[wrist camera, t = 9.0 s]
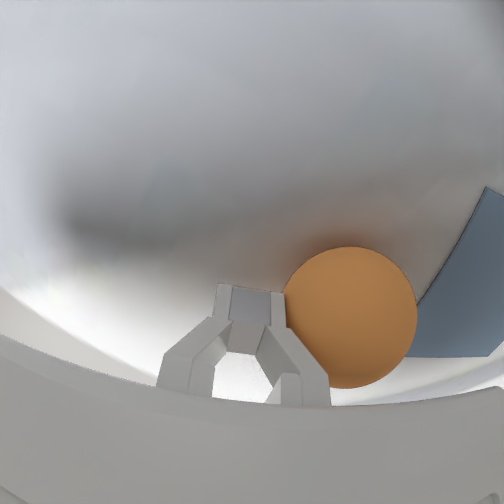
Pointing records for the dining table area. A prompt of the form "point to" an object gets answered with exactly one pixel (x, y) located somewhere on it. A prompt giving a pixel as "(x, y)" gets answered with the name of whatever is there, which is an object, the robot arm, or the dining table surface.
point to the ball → (352, 314)
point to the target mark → (467, 291)
